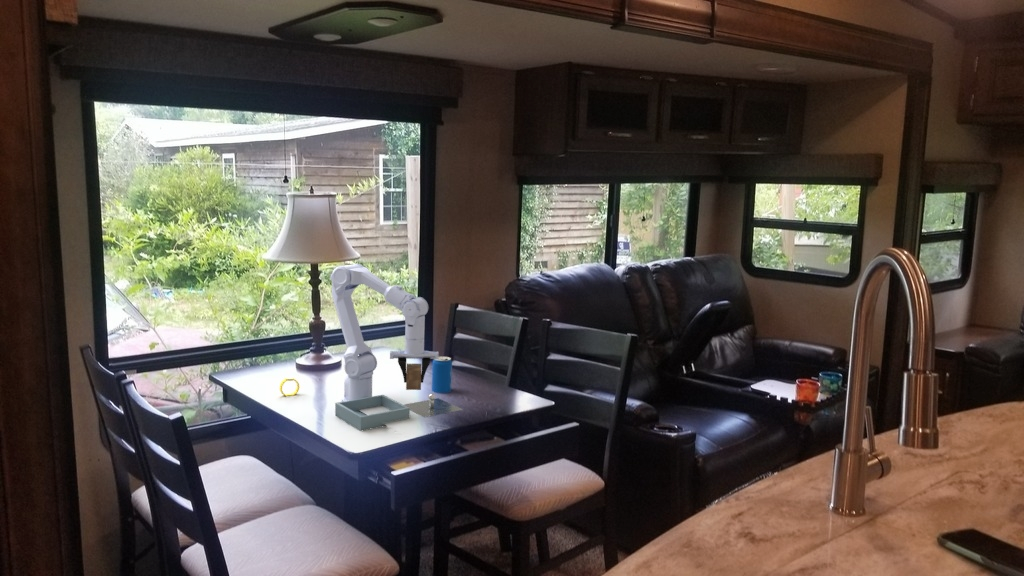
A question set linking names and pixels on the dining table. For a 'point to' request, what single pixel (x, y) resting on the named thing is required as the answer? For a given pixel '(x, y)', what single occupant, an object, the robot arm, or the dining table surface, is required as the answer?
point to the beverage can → (441, 375)
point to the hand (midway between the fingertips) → (413, 381)
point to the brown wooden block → (413, 377)
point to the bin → (363, 421)
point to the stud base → (432, 407)
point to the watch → (289, 380)
